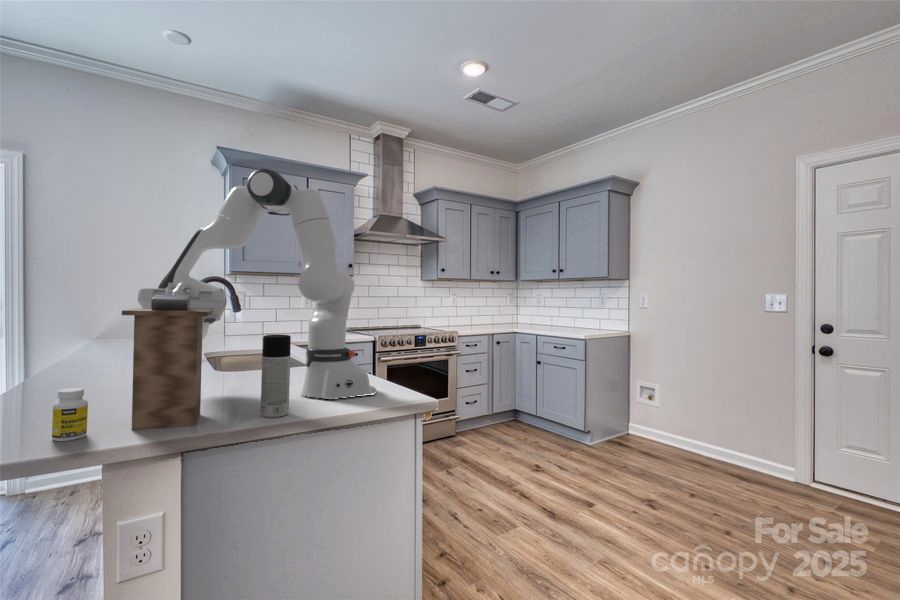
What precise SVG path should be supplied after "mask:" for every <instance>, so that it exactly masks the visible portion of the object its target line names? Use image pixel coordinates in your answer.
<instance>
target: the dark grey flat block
mask: <svg viewBox="0 0 900 600" xmlns="http://www.w3.org/2000/svg"><path fill="white" fill-rule="evenodd" d="M186 286H187V284H186V283H179V284H178V285H177V286H176V288H175V289H174V290H173V291H172V293H171V294H170V295H154V297H153V298H152V299H151V309H152V310H181V311H187V310H188V309H189V307H190V296H186V295H185V293H186V292H187V290H186Z"/></svg>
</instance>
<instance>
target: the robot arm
mask: <svg viewBox="0 0 900 600" xmlns="http://www.w3.org/2000/svg"><path fill="white" fill-rule="evenodd" d="M265 213H267V214H268V215H273V216H274V215H275V216H284V217H285V216H290V218H291V222H292V226H293V230H294V234H295V237H296V241H297V245H298V249H299V254H300V256H299V257H300V276H299V278H298V282H297V283H298V284H297V285H298V290H299V292H300V294H301V295H302V296H303V297H304V298H306V299H307V300H310V301H311V302H314V304H315V305H314V308H313V312H312V315H311V318H310V319H309V322H308V335H307V336H308V339H307V341H308V342H307V348H306V351H305V366H306V371H305V377H304V382H303V387H302V389H301V390H302V391H301V392H300V395H301V396H303V397H305V396H307V397H306V398H309V397H316V398H315V399H318V398H323V399H335V398H343V397H350V396H357V395H364V394H371V393H375V392H376V393H377V388H376V387H375V386H373V385H371V384H370V378H369V375H368V373H367V371H366V370H365V369H363V367H361V366H360V365H359V364H357V363H356V362H355V361H354V360H352V358H354V357H355V356H356V351H355V350H354V349H349V348H347V347H346V339H347V338H346V337H347V336H346V334H347V333H346V332H347V331H346V330H347V319H348V314H349V310H350V305H351V300H352V296H353V294H354V291H355V282H354V279H353V277H352V276H351V275H350V274H349V273H348V272H347V271H345V270H343V269H341V268H338V266H337V258H336V256H337V255H336V249H337V241H336V238H335V233H334V229H333V227H332V223H331V220H330V216H329V212H328V209H327V207H326V204H325V203H324V200H323V199H322V197H321V194H320V193H319V192H318V191H317V190H315V189H312V188H300V189H298V188H297V186H295V185H294V184H293V183H292V182H291V181H290V180H288V179H287V178H286V177H285V176H283V175H282V174H280V173H279V172H277V171H275V170H273V169H269V168H258V169H256V170H254V171H253V172H251V174H250V175H249V176H248V178H247V182H246V186H245V185H238V186H234V187H233V188H231V190H230V191H229V193H227V196H226V197H225V199H224V201H223V202H222V205H221V206H220V209H219V210H218V214H217V215H216V217H215V219H214V220H213V221H212V222H211V223H210V224H209V225H207V226H203V227H202V226H201V227H200V228H199V229H197V230H196V231H195V233H194V234H193V236H192V237H191V238H190V240H189V241H188V242H187V244H186V246H185V247H184V248H183V250H182V252H181V253H180V255H179V256H178V258H177V260H176V261H175V263H174V264H173V266H172V267H171V269H170V270H169V271H168V272H167V273H166V275H165V276H164V278H163V279H162V280H161V281H160V283H159V284H158V288H156V287H155V288H153V287H147V288H146V287H143V288H141V289H139V290H138V295H137V302H138V303H139V305H140V307H141V309H151V299H152V298H153V297H154V295H170V294H171V293H172V291H173V290H174V289H175V288H176V286H177V285H178V284H179V283H186V284H187V286H186V290H187V292H186V293H185V295H186V296H190V307H189V309H197V310H213V311H212V314H211V315H208V316H203V326H202V341H203V340H204V339H205V338H206V336H207V335H208V331H209V327H210V325H211V324H213V323H215V322H218V321H221V318H222V315H223V313H224V312H225V309H226V306H227V293H226V291H225V290H224V289H223V288H220V287H218V286H215V285H213V284H210V283H207V282H204V281H201V280H199V279H196V278H193V277H191V276H190V273H191V271H192V270H193V268H194V267H195V265H196V263H197V262H198V260H199V259H200V257H201V256H202V254H203V253H204V252H207V251H208V250H214V249H217V250H218V249H221V250H222V249H223V250H226V249H227V250H235V249H239V248H240V249H241V248H242V247H244V246H247V244H249V242H250V241H251V239H252V236H253V235H254V232H255V230H256V228H257V225H258V222H259V220H260V219H261V217H262V215H264V214H265ZM323 399H322V400H323Z"/></svg>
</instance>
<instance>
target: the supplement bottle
mask: <svg viewBox="0 0 900 600" xmlns="http://www.w3.org/2000/svg"><path fill="white" fill-rule="evenodd" d="M84 395H85V388H83V387H70V388H69V387H68V388H62V389H59V390H58V391H57V399H59V400H57V401H55V402H54V403H53V405H52V422H51V424H52V427H51V440H52V441H55V442H68V441H74V440H75V441H76V440H78V439H82V438H84V437H85V436H86V435H87V431H88V413H89V412H88V408H89V403H88V402H89V401H88V400H87V399H85V398H83V397H84Z"/></svg>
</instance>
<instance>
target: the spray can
mask: <svg viewBox="0 0 900 600" xmlns="http://www.w3.org/2000/svg"><path fill="white" fill-rule="evenodd" d="M291 338H292V337H291V335H289V334H267V335H263V337H262V354H261V355H262V356H261V386H260V387H261V390H260V392H261V393H260V415H261V417H263V418H270V419H271V418H274V417H275V418H281V416H282V417H285V416H287V415H288V414H289V411H290V384H291V383H290V380H291V379H290V378H291V346H292V345H291V342H292V340H291ZM275 418H274V419H275Z"/></svg>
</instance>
